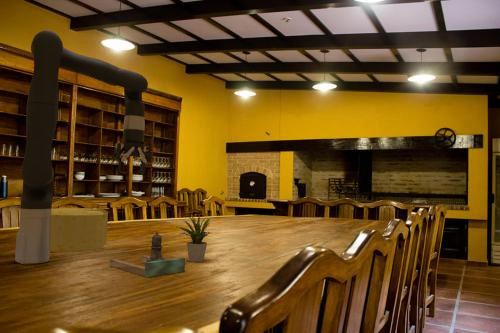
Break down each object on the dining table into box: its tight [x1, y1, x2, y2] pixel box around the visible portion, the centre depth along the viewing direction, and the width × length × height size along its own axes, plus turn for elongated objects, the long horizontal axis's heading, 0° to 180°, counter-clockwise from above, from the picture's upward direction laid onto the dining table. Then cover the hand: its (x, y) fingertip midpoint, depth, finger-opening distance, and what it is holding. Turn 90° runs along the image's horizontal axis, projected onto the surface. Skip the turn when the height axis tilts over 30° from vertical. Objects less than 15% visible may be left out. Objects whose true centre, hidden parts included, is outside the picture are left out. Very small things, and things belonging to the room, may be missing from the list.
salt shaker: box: [146, 231, 166, 262], centre depth 128 cm, size 6×6×12 cm
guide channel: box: [109, 254, 186, 278], centre depth 132 cm, size 13×22×4 cm, turn 47°
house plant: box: [176, 214, 212, 263], centre depth 149 cm, size 14×14×16 cm
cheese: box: [50, 207, 109, 253], centre depth 171 cm, size 26×26×15 cm
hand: (132, 173), depth 155 cm, fingers open, 8 cm apart
